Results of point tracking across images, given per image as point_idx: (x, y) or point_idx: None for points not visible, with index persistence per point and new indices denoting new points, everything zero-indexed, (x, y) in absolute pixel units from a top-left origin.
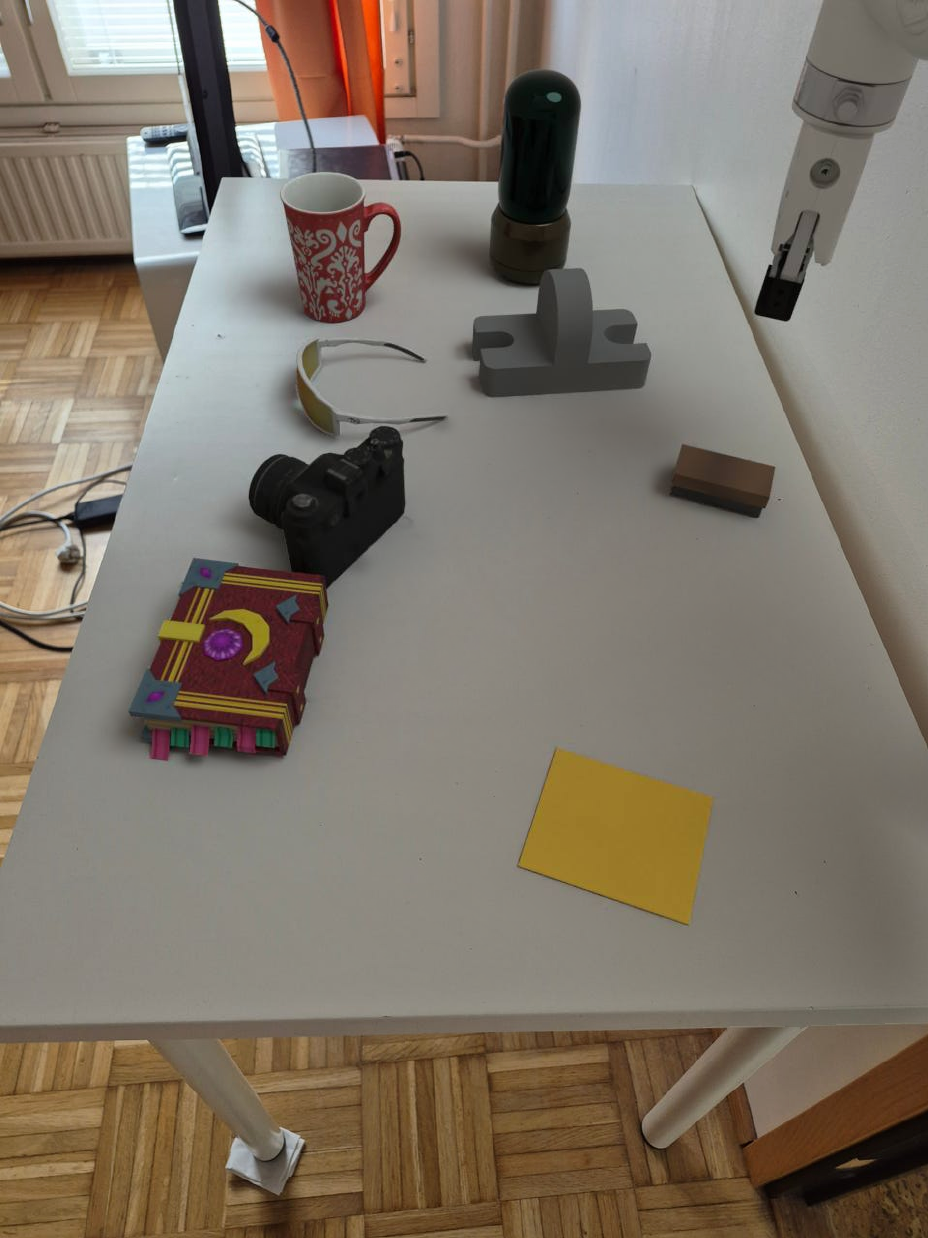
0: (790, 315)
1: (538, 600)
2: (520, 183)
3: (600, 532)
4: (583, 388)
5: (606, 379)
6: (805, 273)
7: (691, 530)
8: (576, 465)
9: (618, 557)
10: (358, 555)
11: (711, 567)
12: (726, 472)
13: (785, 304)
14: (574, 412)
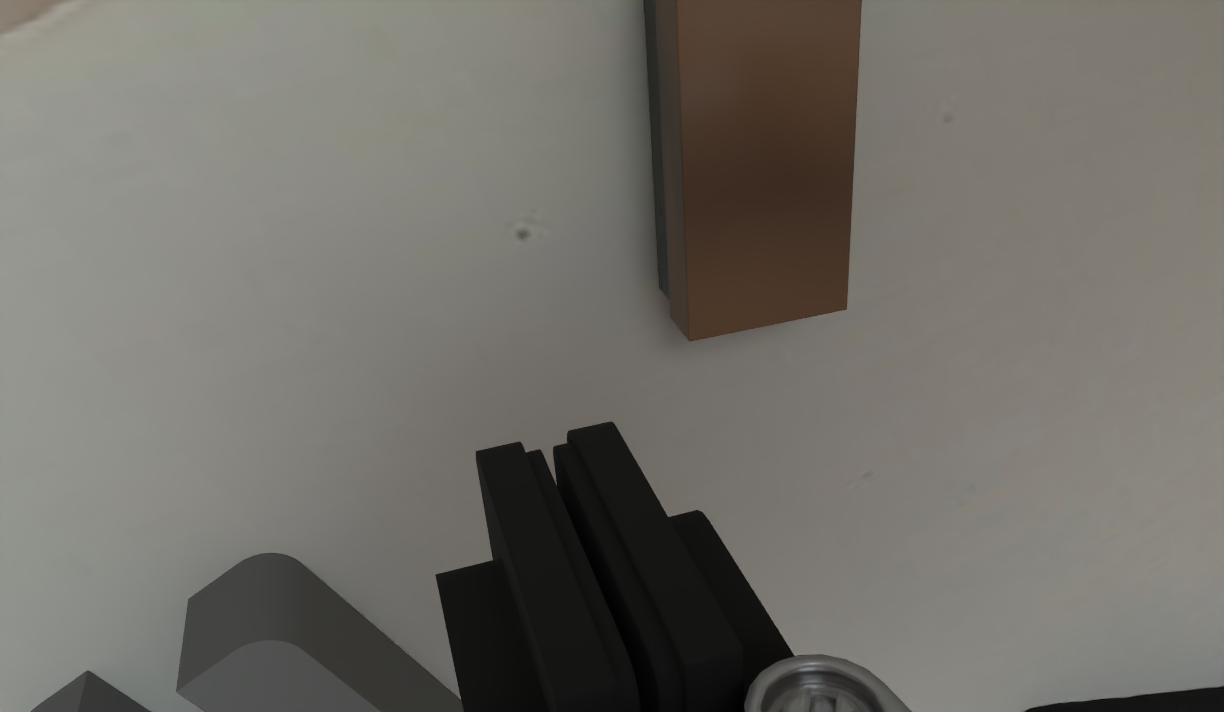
0: (623, 444)
1: (1216, 384)
2: None
3: (989, 364)
4: (427, 679)
5: (383, 662)
6: (596, 692)
7: (917, 146)
8: (761, 527)
9: (1063, 288)
10: (1160, 699)
11: (1050, 37)
12: (782, 149)
13: (728, 556)
14: None
